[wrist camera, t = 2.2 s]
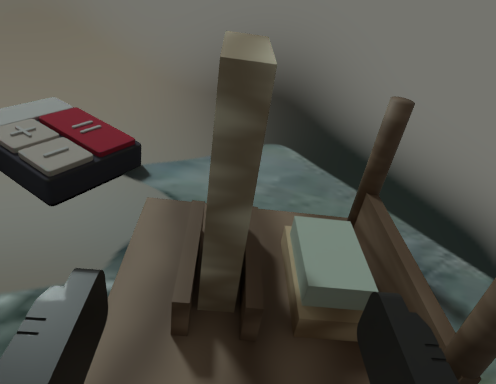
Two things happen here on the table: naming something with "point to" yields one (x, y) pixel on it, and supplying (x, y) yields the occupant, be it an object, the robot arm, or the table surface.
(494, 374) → the table surface
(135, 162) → the calculator
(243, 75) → the beige wooden block
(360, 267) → the offcut upper
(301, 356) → the rack
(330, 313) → the offcut lower
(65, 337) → the robot arm
